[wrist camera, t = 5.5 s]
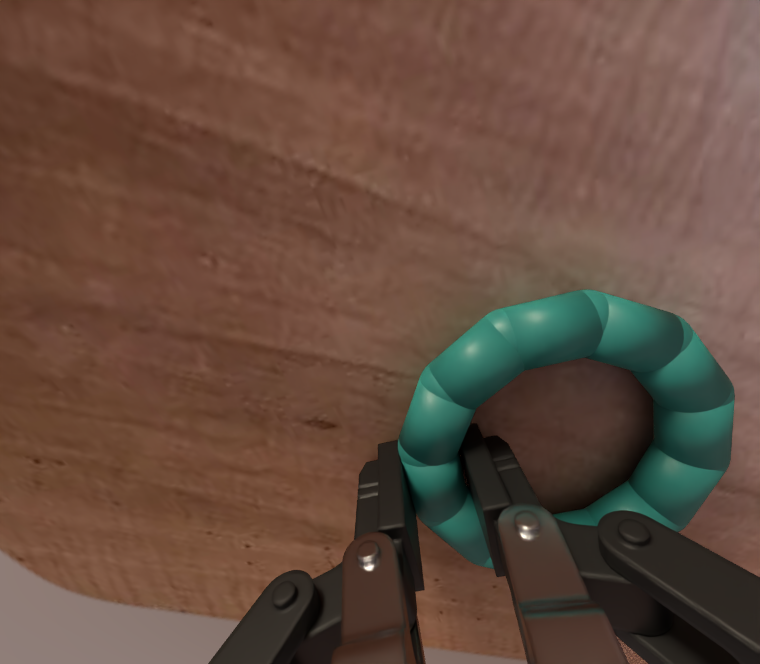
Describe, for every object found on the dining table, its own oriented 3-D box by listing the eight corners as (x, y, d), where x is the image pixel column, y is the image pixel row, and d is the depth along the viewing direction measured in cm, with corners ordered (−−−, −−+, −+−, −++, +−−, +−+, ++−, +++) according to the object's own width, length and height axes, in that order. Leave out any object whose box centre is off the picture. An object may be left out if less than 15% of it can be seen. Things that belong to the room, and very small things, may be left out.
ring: (432, 562, 14) (439, 611, 12) (368, 331, 11) (365, 354, 9) (694, 515, 13) (740, 560, 12) (702, 251, 10) (766, 261, 9)
